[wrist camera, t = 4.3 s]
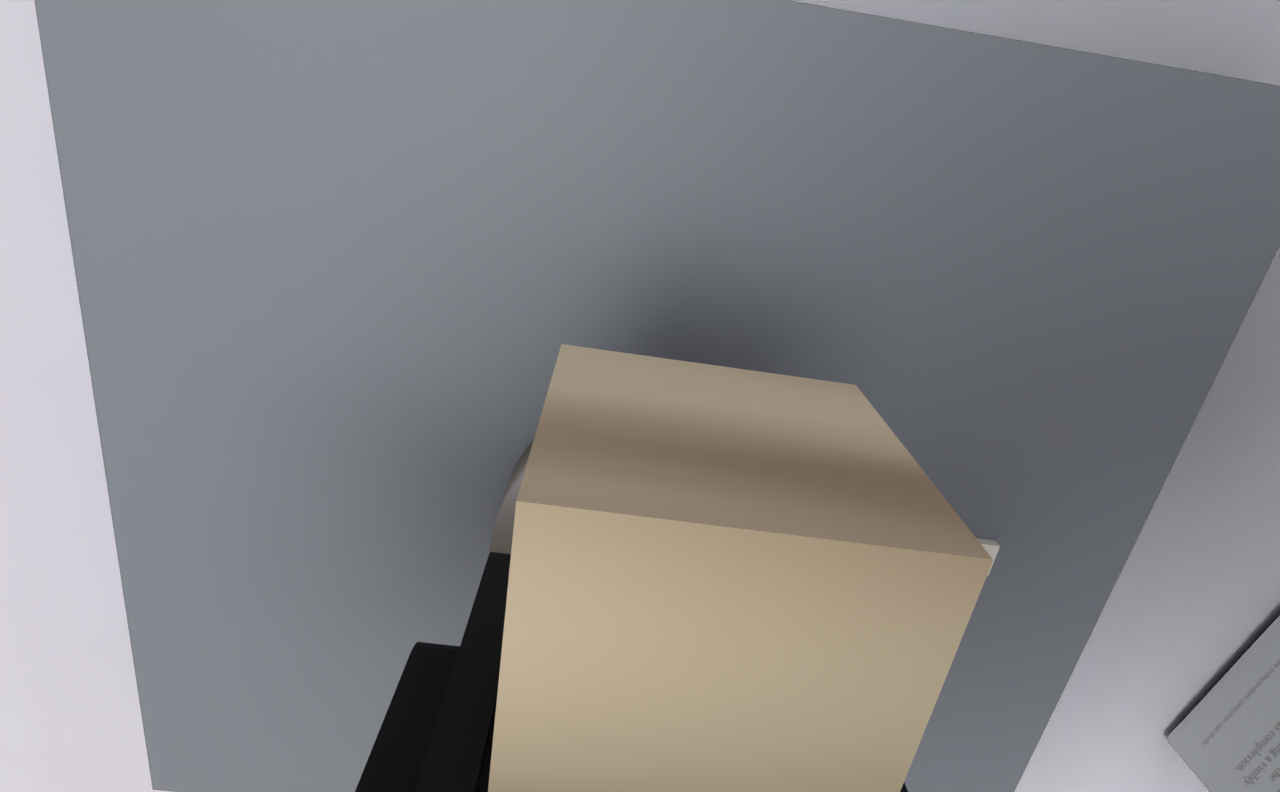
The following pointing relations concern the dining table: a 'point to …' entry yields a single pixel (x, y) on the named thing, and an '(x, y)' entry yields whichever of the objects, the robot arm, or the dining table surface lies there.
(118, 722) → the dining table surface
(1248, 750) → the small box
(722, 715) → the t key
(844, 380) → the plate
